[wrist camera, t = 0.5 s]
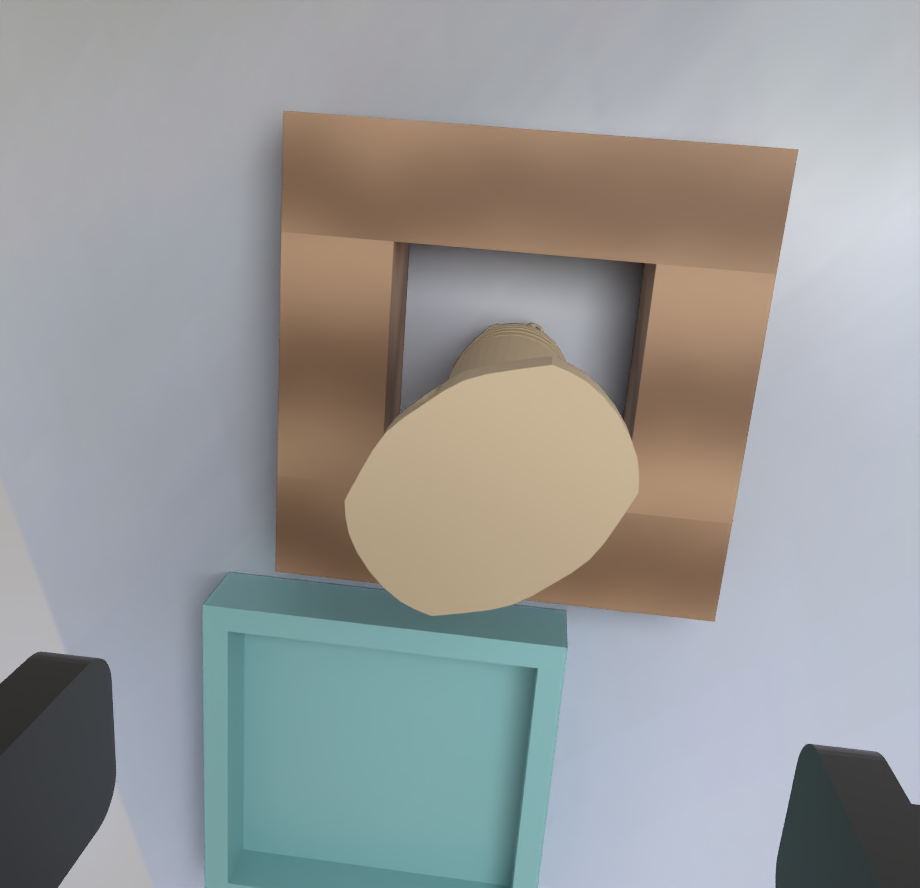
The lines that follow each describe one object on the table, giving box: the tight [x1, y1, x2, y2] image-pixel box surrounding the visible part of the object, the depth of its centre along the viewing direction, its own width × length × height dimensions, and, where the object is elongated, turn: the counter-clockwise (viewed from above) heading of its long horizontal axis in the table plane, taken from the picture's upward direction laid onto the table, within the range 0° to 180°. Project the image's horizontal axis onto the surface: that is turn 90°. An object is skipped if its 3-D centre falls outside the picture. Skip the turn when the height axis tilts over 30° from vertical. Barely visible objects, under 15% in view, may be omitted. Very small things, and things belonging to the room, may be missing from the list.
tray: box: [202, 572, 568, 888], centre depth 37 cm, size 14×14×3 cm
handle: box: [345, 323, 639, 616], centre depth 26 cm, size 5×6×15 cm
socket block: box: [276, 111, 798, 622], centre depth 31 cm, size 16×16×4 cm
